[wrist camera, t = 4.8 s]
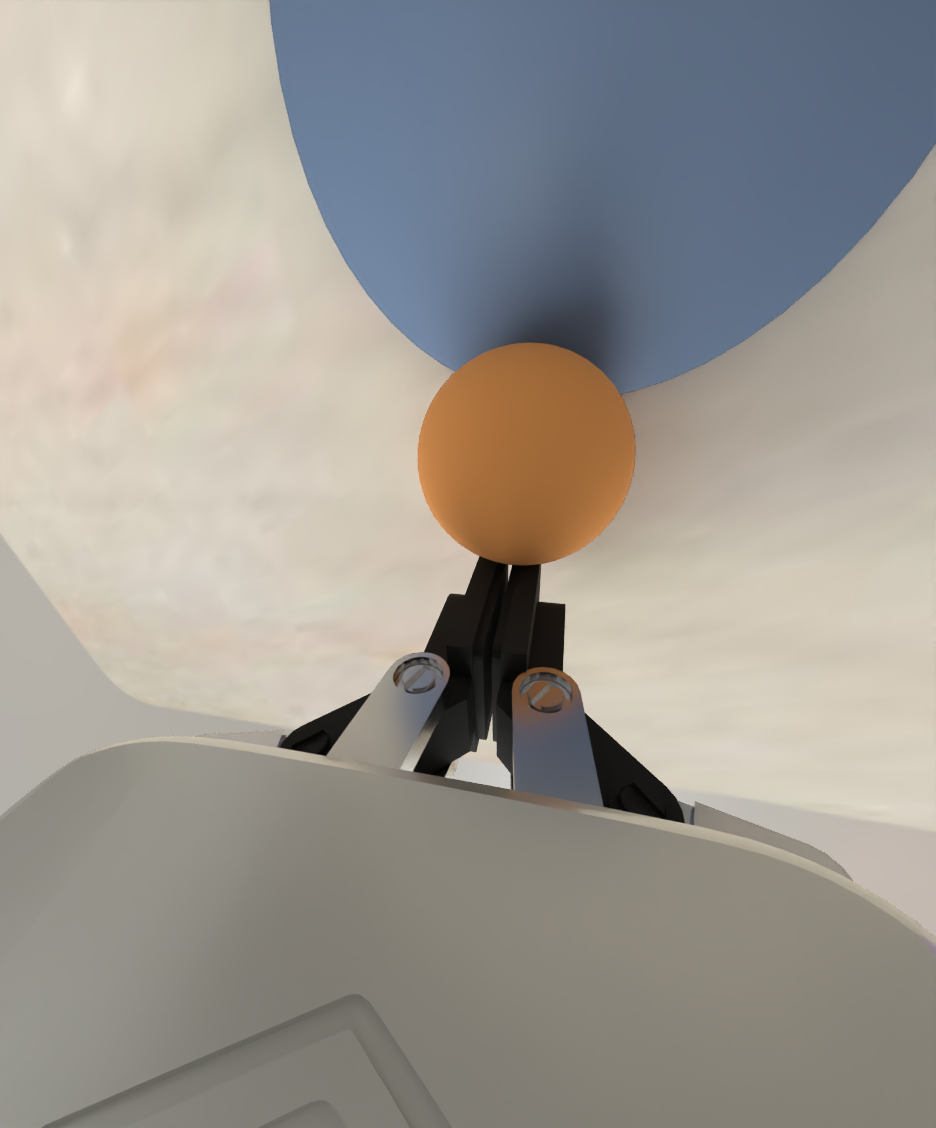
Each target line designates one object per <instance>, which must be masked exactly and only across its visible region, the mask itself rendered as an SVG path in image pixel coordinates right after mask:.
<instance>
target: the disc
mask: <svg viewBox="0 0 936 1128" xmlns="http://www.w3.org/2000/svg"><path fill="white" fill-rule="evenodd" d="M270 13H271V25H272V31H273V38H274V44H275V51H276V57H277V64H278V70H279V77H280V83H281V87H282V92H283V96H284V100H285V105H286V109H287V113H288V117H289V122H290V126H291V130H292V134H293V138H294V141H295V144H296V147H297V150H298V154H299V157H300V160H301V163H302V166H303V169H304V172H305V175H306V178H307V181H308V184H309V187H310V189H311V191H312V194H313V196H314V198H315V201H316V203H317V206H318V208H319V210H320V213H321V215H322V217H323V220H324V222H325V224H326V227H327V229H328V230H329V232H330V234H331V236H332V238H333V240H334V241H335V243H336V245H337V247H338V249H339V251H340V253H341V254H342V256H343V258H344V260H345V262H346V264H347V265H348V267H349V268H350V269H351V271H352V272H353V274H354V275H355V277H356V278H357V280H358V281H359V283H360V284H361V286H362V287H363V289H364V290H365V292H366V293H367V294H368V296H369V297H370V298H371V299H372V300H373V302H374V303H375V304H376V305H377V306H378V308H379V309H380V310H381V311H382V312H383V313H384V315H385V316H386V317H387V318H388V319H389V320H390V322H391V323H392V324H393V325H394V326H396V327H397V328H398V329H399V330H400V331H401V332H402V333H403V334H404V335H405V336H406V337H407V338H408V339H410V340H411V341H412V342H413V343H414V344H415V345H416V346H417V347H419V348H420V349H421V350H423V351H424V352H426V353H427V354H428V355H430V356H431V357H433V358H434V359H435V360H437V361H438V362H440V363H441V364H442V365H444V366H446V367H448V368H450V369H451V370H453V371H455V372H456V371H457V370H458V369H459V368H461V367H462V366H463V365H464V364H466V363H467V362H468V361H470V360H472V359H474V358H475V357H477V356H479V355H481V354H482V353H484V352H487V351H489V350H492V349H495V348H498V347H502V346H505V345H510V344H516V343H544V344H551V345H555V346H558V347H561V348H564V349H567V350H570V351H573V352H574V353H576V354H578V355H580V356H582V357H584V358H586V359H587V360H589V361H590V362H591V363H593V364H594V365H595V366H596V367H598V368H599V369H600V370H601V371H602V372H603V373H604V374H605V375H606V376H607V377H608V378H609V379H610V381H611V382H612V383H613V384H614V385H615V387H616V388H617V390H618V392H619V393H620V394H622V393H627V392H632V391H635V390H638V389H641V388H644V387H648V386H651V385H654V384H657V383H660V382H663V381H667V380H669V379H671V378H673V377H676V376H678V375H680V374H682V373H685V372H687V371H689V370H691V369H694V368H696V367H698V366H700V365H703V364H705V363H707V362H708V361H710V360H712V359H713V358H715V357H717V356H719V355H720V354H722V353H724V352H726V351H727V350H729V349H731V348H732V347H734V346H736V345H738V344H739V343H741V342H743V341H744V340H746V339H747V338H749V337H750V336H751V335H753V334H754V333H755V332H757V331H758V330H760V329H761V328H762V327H764V326H765V325H767V324H768V323H769V322H771V321H772V320H773V319H775V318H776V317H778V316H779V315H780V314H782V313H783V312H784V311H786V310H787V309H788V308H789V307H790V306H791V305H793V304H794V303H795V302H796V301H797V300H798V299H799V298H801V297H802V296H803V295H804V294H805V293H806V292H807V291H809V290H810V289H811V288H812V287H813V286H814V285H815V284H817V283H818V282H819V281H820V280H821V279H822V278H823V277H825V276H826V275H827V274H828V273H829V272H830V271H831V270H832V268H833V267H834V266H835V265H836V264H837V263H838V262H839V261H840V260H841V259H842V258H843V257H844V256H845V255H846V254H847V253H848V252H849V251H850V250H851V249H852V248H853V247H854V246H855V244H856V243H857V242H858V241H859V240H860V239H861V238H862V237H863V236H864V235H865V234H866V233H867V232H868V231H869V230H870V229H871V227H872V226H873V225H874V224H875V222H876V221H877V220H878V219H879V217H880V216H881V215H882V214H883V213H884V211H885V210H886V209H887V208H888V206H889V205H890V204H891V203H892V201H893V200H894V199H895V198H896V196H897V195H898V194H899V193H900V192H901V190H902V189H903V188H904V187H905V185H906V184H907V183H908V182H909V180H910V179H911V178H912V177H913V175H914V174H915V172H916V171H917V170H918V168H919V167H920V165H921V164H922V162H923V161H924V159H925V158H926V156H927V155H928V153H929V152H930V150H931V149H932V148H933V146H934V145H935V143H936V0H270Z"/></svg>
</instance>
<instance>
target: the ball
mask: <svg viewBox="0 0 936 1128" xmlns="http://www.w3.org/2000/svg"><path fill="white" fill-rule="evenodd" d="M635 450H636V447H635V435H634V430H633V426H632V422H631V417H630V414H629V412H628V409H627V407H626V404H625V402H624V400H623V398H622V396H621V395H620V393H619V392H618V390H617V388H616V387H615V385H614V384H613V383H612V382H611V381H610V379H609V378H608V377H607V376H606V375H605V374H604V373H603V372H602V371H601V370H600V369H599V368H598V367H596V366H595V365H594V364H593V363H591V362H590V361H589V360H587V359H586V358H584V357H582V356H580V355H578V354H576V353H574V352H573V351H570V350H567V349H564V348H561V347H558V346H555V345H551V344H544V343H516V344H510V345H505V346H502V347H498V348H495V349H492V350H489V351H487V352H484V353H482V354H481V355H479V356H477V357H475V358H474V359H472V360H470V361H468V362H467V363H466V364H464V365H463V366H462V367H461V368H459V369H458V370H457V371H456V372H455V373H454V374H452V375H451V377H450V378H449V379H448V380H447V381H446V382H445V383H444V385H443V386H442V387H441V388H440V390H439V391H438V393H437V394H436V396H435V397H434V399H433V401H432V402H431V404H430V406H429V409H428V411H427V413H426V415H425V418H424V421H423V425H422V428H421V432H420V436H419V443H418V472H419V478H420V483H421V487H422V490H423V493H424V496H425V499H426V501H427V503H428V505H429V507H430V509H431V511H432V513H433V515H434V517H435V518H436V520H437V521H438V522H439V524H440V525H441V526H442V528H443V529H444V530H445V531H446V532H447V533H448V534H449V535H450V536H451V537H452V538H453V539H454V540H455V541H456V542H458V543H459V544H460V545H462V546H463V547H465V548H466V549H468V550H469V551H471V552H473V553H474V554H476V555H479V556H481V557H483V558H486V559H489V560H492V561H495V562H499V563H503V564H510V565H537V564H543V563H548V562H552V561H555V560H558V559H561V558H563V557H566V556H568V555H570V554H572V553H574V552H576V551H578V550H580V549H581V548H583V547H584V546H586V545H587V544H588V543H590V542H591V541H592V540H593V539H595V538H596V537H597V536H598V535H599V534H600V533H601V532H602V531H603V530H604V529H605V528H606V527H607V525H608V524H609V523H610V522H611V521H612V520H613V518H614V517H615V515H616V513H617V512H618V510H619V509H620V507H621V505H622V504H623V502H624V500H625V497H626V495H627V492H628V490H629V487H630V484H631V480H632V476H633V472H634V463H635Z"/></svg>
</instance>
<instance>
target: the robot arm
mask: <svg viewBox="0 0 936 1128" xmlns="http://www.w3.org/2000/svg"><path fill="white" fill-rule="evenodd" d="M540 575H541V564H537V565H512V569H511V573H510V577H509V581H508V564H503V563H499V562H495V561H492V560H489V559H486V558H483V557H481V556H480V557H479V559H478V562H477V565H476V567H475V570H474V572H473V575H472V578H471V580H470V583H469V586H468V588H467V591H466V594H465V595H461V594H450V595H449V596H448V598H447V600H446V602H445V605H444V607H443V609H442V612H441V614H440V616H439V619H438V621H437V623H436V626H435V628H434V630H433V632H432V635H431V637H430V639H429V642H428V644H427V646H426V649H425V651H424V652H419V653H412V654H409V655H406V656H404V657H402V658H400V659H399V660H397V661H396V662H395V663H394V664H393V665H392V666H391V667H390V668H389V670H388V671H387V672H386V674H385V675H384V676H383V678H382V679H381V681H380V682H379V683H378V685H377V686H376V688H375V689H374V690H373V692H372V693H370V694H368V695H366V696H364V697H362V698H360V699H358V700H356V701H353V702H351V703H349V704H347V705H345V706H343V707H341V708H339V709H336V710H334V711H332V712H330V713H328V714H326V715H324V716H322V717H320V718H317V719H315V720H313V721H311V722H309V723H307V724H305V725H303V726H301V727H299V728H298V729H296V730H294V731H293V732H292V733H291V734H290V735H285V732H284V730H275V731H256V732H238V733H218V734H204V735H199V736H195V737H192V736H166V737H152V738H143V739H137V740H133V741H126V742H121V743H117V744H113V745H109V746H106V747H103V748H100V749H97V750H94V751H91V752H89V753H87V754H84V755H82V756H80V757H78V758H76V759H75V760H73V761H71V762H70V763H68V764H67V765H65V766H63V767H62V768H60V769H59V770H57V771H56V772H55V773H53V774H52V775H50V776H49V777H48V778H46V779H45V780H44V781H43V782H41V783H40V784H39V785H37V786H36V787H35V788H34V789H33V790H31V791H30V792H29V793H28V794H26V795H25V796H24V797H23V798H21V799H20V800H19V801H18V802H17V803H15V804H14V805H13V806H12V807H10V808H9V809H8V810H7V811H6V812H5V813H4V814H2V815H1V816H0V1128H936V937H935V936H934V935H933V934H931V933H930V932H929V931H928V930H927V929H925V928H924V927H923V926H922V925H921V924H919V923H918V922H917V921H916V920H914V919H913V918H912V917H910V916H909V915H907V914H906V913H904V912H903V911H901V910H900V909H898V908H897V907H896V906H894V905H893V904H891V903H889V902H888V901H886V900H885V899H883V898H881V897H880V896H878V895H876V894H875V893H873V892H872V891H870V890H868V889H866V888H865V887H863V886H861V885H859V884H857V883H855V882H854V881H853V880H852V878H851V877H850V876H849V875H848V873H847V872H846V871H845V869H844V868H843V867H842V866H841V865H839V864H838V863H837V862H836V861H834V860H833V859H832V858H831V857H830V856H829V855H827V854H826V853H824V852H822V851H820V850H819V849H817V848H815V847H813V846H811V845H809V844H806V843H803V842H801V841H798V840H796V839H793V838H790V837H788V836H785V835H782V834H780V833H777V832H774V831H772V830H769V829H767V828H764V827H761V826H759V825H756V824H753V823H751V822H748V821H745V820H743V819H740V818H737V817H735V816H732V815H730V814H727V813H724V812H722V811H719V810H716V809H714V808H711V807H708V806H706V805H703V804H700V803H698V802H695V803H694V805H693V806H690V805H687V804H685V803H682V802H680V801H677V799H676V798H675V796H674V795H673V794H672V793H671V792H670V790H669V789H668V788H667V787H666V786H665V785H664V784H663V783H662V782H661V781H659V780H658V779H657V778H656V777H655V776H654V775H653V774H652V773H651V772H650V771H648V770H647V769H646V768H645V767H644V766H643V765H642V764H641V763H640V762H639V761H637V760H636V759H635V758H634V757H633V756H632V755H631V754H630V753H629V752H628V751H626V750H625V749H624V748H623V747H622V746H621V745H620V744H619V743H618V742H617V741H615V740H614V739H613V738H612V737H611V736H610V735H609V734H608V733H607V732H606V731H604V730H603V729H602V728H601V727H600V726H599V725H598V724H597V723H596V722H595V721H593V720H592V719H591V718H590V717H589V716H588V715H587V714H586V713H585V712H584V708H583V703H582V698H581V693H580V690H579V688H578V685H577V684H576V682H575V681H574V680H573V679H572V678H571V677H570V676H568V675H567V674H565V673H564V672H563V653H564V629H565V604H558V603H547V602H539V594H540ZM492 716H493V741H496V742H497V757H498V758H499V759H500V760H501V762H502V763H503V764H504V765H505V767H506V768H507V769H508V771H509V772H510V773H511V776H510V779H511V780H510V783H511V784H510V786H511V790H510V789H504V788H499V787H493V786H488V785H483V784H477V783H472V782H466V781H461V780H455V779H452V778H453V776H454V773H455V771H456V767H457V763H458V761H457V759H458V758H460V757H461V756H463V755H465V754H466V753H468V752H470V751H472V752H476V751H477V746H478V742H479V739H483V740H486V739H487V736H488V731H489V726H490V721H491V717H492Z"/></svg>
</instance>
